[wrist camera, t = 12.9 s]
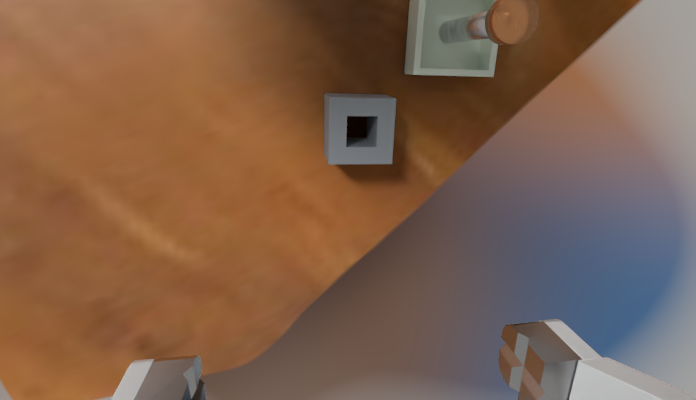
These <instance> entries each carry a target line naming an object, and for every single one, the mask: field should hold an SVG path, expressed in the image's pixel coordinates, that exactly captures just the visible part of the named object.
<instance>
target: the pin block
mask: <svg viewBox="0 0 696 400" xmlns="http://www.w3.org/2000/svg"><path fill="white" fill-rule="evenodd" d="M395 113H396V98H394V97H391V96H387V95H384V94H347V93H324V155H325V157H326V159H327V162H328V164H329V165H331V164H392V157H393V142H394V127H395ZM347 116H367V126H366V138H351V137H347Z"/></svg>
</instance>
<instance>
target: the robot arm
mask: <svg viewBox="0 0 696 400" xmlns="http://www.w3.org/2000/svg"><path fill="white" fill-rule="evenodd" d="M502 339H503V340H504V341H505V345H504V346H503V347H502V348H501V349H500V351H499V359H498V362H499V367H500V372H501V374H502V376H503V379H504V380H505V382H506V383H507V385H508V386H509V387H510V388H512V389H514V390H515V391H517V392H519V396H518V400H696V396H695V395H692V394H690V393H688V392H686V391H683V390H681V389H679V388H676V387H674V386H672V385H670V384H668V383H665V382H663V381H661V380H658V379H656V378H654V377H651V376H649V375H647V374H645V373H642V372H640V371H638V370H635V369H633V368H631V367H629V366H626V365H624V364H622V363H619V362H617V361H615V360H612V359H610V358H608V357H605V358H602V357H601V356H600V355H598V354H597V353H596V352H595V351H594V350H593V349H592V348H590V346H588V345H587V344H586V343H585V342H584V341H583V340H582V339H581V338H580V337H579V336H578V335H577V334H575V333H574V332H573V331H572V330H571V329H570V328H569V327H568V326H567V325H566V324H564V323H563V322H562V321H560V320H558V319H550V320H543V321H539V322H529V323H520V324H510V325H505V327H504V329H503V332H502ZM201 371H202V364H201V359H200V357H199V356H198V355H195V356H182V357H168V358H157V359H147V360H135V361H134V362H132V363H131V364H130V365H129V367H128V369H127V371H126V373H125V375H124V376H123V378H122V380H121V382H120V384H119V386H118V388H117V390H116V391H115V393H114V395H113V397H112V399H111V400H206V390H205V383H204V382H203V381H202V380H201V379H200V375H201Z"/></svg>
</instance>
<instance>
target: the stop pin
mask: <svg viewBox="0 0 696 400" xmlns="http://www.w3.org/2000/svg"><path fill="white" fill-rule="evenodd" d="M539 18H540V11H539V7H538V4H537V2H536V0H496V1H495V2H494V3H493V4H492V5H491V7H490V8H489V10H488V11H484V12H481V13H477V14H473V15H469V16H466V17H462V18H458V19H454V20H450V21H447V22H445V23H443V24H442V25H441V27H440V29H439V37H440V39H441V41H442V42H444V43H447V44H448V43H457V42H465V41H473V40H481V39H490V40H491V41H492V42H494V43H495V44H498V45H514V44H520V43H523V42H525V41H526V40H528V39H529V38H530V37H531V36H532V35H533V34H534V32H535V31H536V29H537V26H538V24H539Z"/></svg>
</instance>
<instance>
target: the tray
mask: <svg viewBox="0 0 696 400" xmlns="http://www.w3.org/2000/svg"><path fill="white" fill-rule="evenodd" d="M495 1H496V0H410V1H409V14H408V28H407V41H406V55H405V69H404V74H410V75H438V76H474V77H494V70H495V63H496V57H497V50H498V44H495V43H494V42H492V41H491V40H490V39H481V40H473V41H465V42H457V43H448V44H447V43H444V42H442V41H441V39H440V37H439V29H440V27H441V25H442V24H443V23H445V22H447V21H450V20H454V19H458V18H462V17H466V16H469V15H473V14H477V13H481V12H484V11H488V10H489V8H490V7H491V5H492V4H493V3H494V2H495Z"/></svg>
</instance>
